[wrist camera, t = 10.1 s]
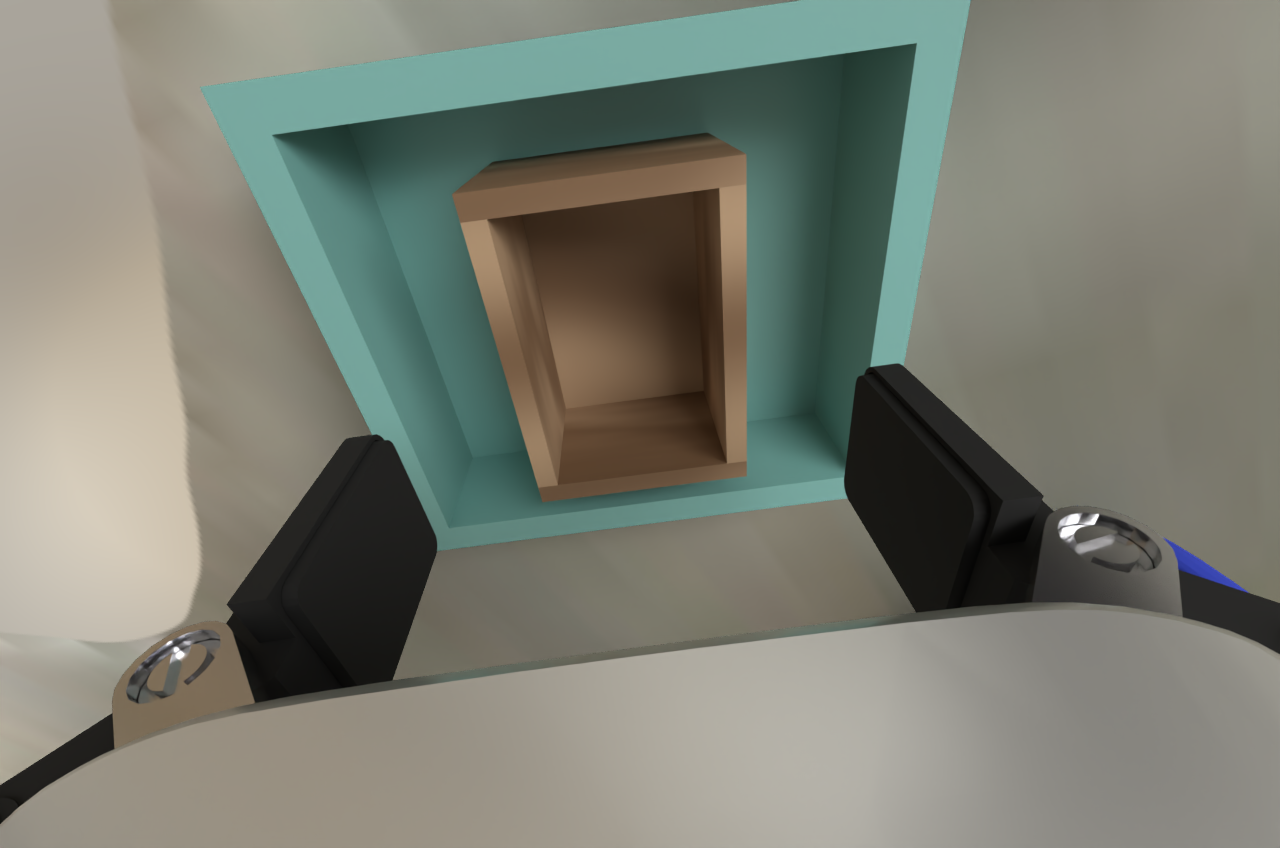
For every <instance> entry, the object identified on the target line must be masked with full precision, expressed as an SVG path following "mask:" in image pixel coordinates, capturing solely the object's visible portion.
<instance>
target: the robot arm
mask: <svg viewBox="0 0 1280 848" xmlns="http://www.w3.org/2000/svg"><path fill="white" fill-rule="evenodd" d="M844 488H845V493H846V496H847V498H848V500H849V501H850V503H851V505H852V506H853V508H854V510H855V511H856V513H857V515H858V516H859V518H860V520H861V521H862V523H863V525H864V526H865V528H866V530H867V531H868V533H869V535H870V536H871V538H872V539H873V541H874V543H875V544H876V546H877V548H878V549H879V551H880V553H881V554H882V556H883V558H884V559H885V561H886V563H887V564H888V566H889V568H890V569H891V571H892V573H893V574H894V576H895V578H896V579H897V581H898V583H899V584H900V586H901V588H902V589H903V591H904V593H905V594H906V596H907V598H908V599H909V601H910V603H911V604H912V606H913V608H914V609H915V611H916V613H909V614H900V615H891V616H882V617H873V618H865V619H857V620H849V621H841V622H833V623H825V624H817V625H809V626H801V627H793V628H785V629H778V630H770V631H762V632H754V633H746V634H738V635H730V636H722V637H714V638H707V639H699V640H691V641H684V642H676V643H668V644H661V645H653V646H645V647H638V648H630V649H622V650H615V651H607V652H600V653H592V654H585V655H577V656H570V657H562V658H555V659H547V660H539V661H532V662H525V663H518V664H510V665H503V666H496V667H488V668H481V669H474V670H466V671H459V672H452V673H445V674H437V675H430V676H423V677H415V678H408V679H401V680H393V677H394V674H395V671H396V668H397V665H398V663H399V660H400V657H401V654H402V651H403V648H404V645H405V642H406V640H407V637H408V634H409V631H410V628H411V625H412V622H413V619H414V617H415V614H416V611H417V608H418V605H419V602H420V599H421V596H422V594H423V591H424V588H425V585H426V582H427V579H428V576H429V573H430V571H431V568H432V565H433V562H434V559H435V556H436V553H437V538H436V535H435V532H434V530H433V528H432V526H431V524H430V522H429V519H428V517H427V515H426V513H425V511H424V509H423V507H422V504H421V502H420V500H419V498H418V496H417V494H416V491H415V489H414V487H413V485H412V483H411V481H410V478H409V476H408V474H407V472H406V470H405V468H404V465H403V463H402V461H401V459H400V457H399V455H398V452H397V450H396V448H395V446H394V444H393V443H392V442H391V441H390V440H384V439H383V438H382V437H381V436H380V435H377V434H375V435H367V436H360V437H353V438H347V439H346V440H345V441H344V442H343V443H342V444H341V446H340V447H339V449H338V450H337V451H336V453H335V454H334V456H333V457H332V458H331V460H330V461H329V463H328V464H327V465H326V467H325V468H324V470H323V471H322V472H321V474H320V475H319V477H318V478H317V479H316V481H315V482H314V484H313V485H312V486H311V488H310V489H309V490H308V492H307V493H306V495H305V496H304V497H303V499H302V500H301V502H300V503H299V504H298V506H297V507H296V509H295V510H294V511H293V513H292V514H291V516H290V517H289V518H288V520H287V521H286V523H285V524H284V525H283V527H282V528H281V530H280V531H279V532H278V534H277V535H276V536H275V538H274V539H273V541H272V542H271V543H270V545H269V546H268V548H267V549H266V550H265V552H264V553H263V555H262V556H261V557H260V559H259V560H258V562H257V563H256V564H255V566H254V567H253V569H252V570H251V571H250V573H249V574H248V576H247V577H246V578H245V580H244V581H243V582H242V584H241V585H240V587H239V588H238V589H237V591H236V592H235V594H234V595H233V596H232V598H231V599H230V601H229V602H228V603H227V605H228V607H229V608H230V609H231V610H232V611H233V614H232V616H231V617H230V619H229V620H228V622H227V623H226V624H225V623H222V622H219V621H206V622H200V623H197V624H194V625H190V626H187V627H185V628H183V629H181V630H178V631H176V632H174V633H172V634H170V635H168V636H167V637H165V638H164V639H162V640H161V641H159V642H158V643H156V644H154V645H153V646H151V647H150V648H149V649H148V650H147V651H146V652H144V653H143V654H142V655H141V656H140V657H138V658H137V659H136V660H135V661H134V662H133V663H132V665H131V666H130V667H129V668H128V669H127V670H126V671H125V673H124V674H123V675H122V677H121V678H120V680H119V682H118V684H117V685H116V687H115V689H114V694H113V698H112V712H113V713H112V714H110V715H109V716H107V717H106V718H104V719H103V720H101V721H99V722H98V723H96V724H95V725H93V726H92V727H90V728H89V729H87V730H85V731H84V732H82V733H81V734H79V735H78V736H76V737H75V738H73V739H71V740H70V741H68V742H67V743H65V744H64V745H62V746H61V747H59V748H57V749H56V750H54V751H53V752H51V753H50V754H48V755H47V756H45V757H44V758H42V759H40V760H39V761H37V762H36V763H34V764H33V765H31V766H30V767H28V768H26V769H25V770H23V771H22V772H20V773H19V774H17V775H16V776H14V777H12V778H11V779H9V780H8V781H6V782H5V783H3V784H2V785H0V848H1280V603H1277V602H1274V601H1271V600H1268V599H1265V598H1262V597H1259V596H1256V595H1253V594H1250V593H1247V592H1244V591H1241V590H1238V589H1235V588H1232V587H1229V586H1226V585H1223V584H1220V583H1217V582H1214V581H1211V580H1208V579H1205V578H1202V577H1199V576H1196V575H1193V574H1190V573H1187V572H1184V571H1181V570H1178V561H1177V558H1176V555H1175V553H1174V550H1173V548H1172V547H1171V546H1170V545H1169V544H1168V543H1167V542H1166V540H1165V539H1164V538H1163V537H1162V536H1161V535H1159V534H1158V533H1156V532H1155V531H1154V530H1152V529H1151V528H1149V527H1148V526H1147V525H1145V524H1143V523H1141V522H1139V521H1137V520H1135V519H1133V518H1131V517H1129V516H1126V515H1123V514H1120V513H1117V512H1114V511H1111V510H1107V509H1101V508H1096V507H1091V506H1070V507H1065V508H1060V509H1058V510H1056V511H1053V510H1052V509H1051V508H1050V507H1048V506H1047V505H1046V504H1045V503H1044V502H1043V501H1042V498H1043V495H1042V494H1041V493H1040V492H1039V491H1038V490H1037V489H1036V488H1035V487H1034V486H1033V485H1031V484H1030V483H1029V482H1028V481H1027V480H1026V479H1025V478H1024V477H1023V476H1022V475H1021V474H1020V473H1018V472H1017V471H1016V470H1015V469H1014V468H1013V467H1012V466H1011V465H1010V464H1009V463H1008V462H1007V461H1005V460H1004V459H1003V458H1002V457H1001V456H1000V455H999V454H998V453H997V452H996V451H995V450H994V449H992V448H991V447H990V446H989V445H988V444H987V443H986V442H985V441H984V440H983V439H982V438H981V437H979V436H978V435H977V434H976V433H975V432H974V431H973V430H972V429H971V428H970V427H969V426H968V425H967V424H965V423H964V422H963V421H962V420H961V419H960V418H959V417H958V416H957V415H956V414H955V413H954V412H952V411H951V410H950V409H949V408H948V407H947V406H946V405H945V404H944V403H943V402H942V401H941V400H939V399H938V398H937V397H936V396H935V395H934V394H933V393H932V392H931V391H930V390H929V389H928V388H926V387H925V386H924V385H923V384H922V383H921V382H920V381H919V380H918V379H917V378H916V377H915V376H913V375H912V374H911V373H910V372H909V371H908V370H907V369H906V368H905V367H904V366H903V365H901V364H899V363H895V364H888V365H881V366H873V367H869V368H867V369H866V371H865V373H864V375H861V376H859V377H858V378H857V380H856V384H855V392H854V401H853V409H852V417H851V425H850V434H849V442H848V450H847V458H846V467H845V475H844ZM392 680H393V681H392Z"/></svg>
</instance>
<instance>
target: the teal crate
mask: <svg viewBox="0 0 1280 848" xmlns="http://www.w3.org/2000/svg"><path fill="white" fill-rule="evenodd" d="M970 2H971V0H800V1H793V2H786V3H779V4H772V5H765V6H758V7H752V8H745V9H738V10H731V11H724V12H717V13H710V14H703V15H696V16H689V17H682V18H675V19H668V20H661V21H654V22H647V23H641V24H634V25H627V26H620V27H613V28H606V29H599V30H592V31H585V32H578V33H571V34H564V35H557V36H550V37H543V38H536V39H530V40H523V41H516V42H509V43H502V44H495V45H488V46H481V47H474V48H467V49H460V50H453V51H446V52H439V53H432V54H425V55H419V56H412V57H405V58H398V59H391V60H384V61H377V62H370V63H363V64H356V65H349V66H342V67H335V68H328V69H321V70H315V71H308V72H301V73H294V74H287V75H280V76H273V77H266V78H259V79H252V80H245V81H238V82H231V83H224V84H217V85H210V86H204V87H200V88H201V90H202V92H203V95H204V97H205V99H206V101H207V103H208V105H209V107H210V109H211V111H212V113H213V115H214V117H215V119H216V121H217V123H218V125H219V127H220V129H221V131H222V133H223V135H224V137H225V139H226V141H227V143H228V145H229V147H230V149H231V151H232V153H233V155H234V157H235V159H236V161H237V163H238V165H239V167H240V169H241V171H242V173H243V175H244V177H245V179H246V181H247V183H248V185H249V187H250V189H251V191H252V193H253V195H254V197H255V199H256V201H257V203H258V205H259V207H260V209H261V211H262V214H263V216H264V218H265V220H266V222H267V224H268V226H269V228H270V230H271V232H272V234H273V236H274V238H275V240H276V242H277V244H278V246H279V248H280V250H281V252H282V254H283V256H284V258H285V260H286V262H287V264H288V266H289V268H290V270H291V272H292V274H293V276H294V278H295V280H296V282H297V284H298V286H299V288H300V290H301V292H302V294H303V296H304V298H305V300H306V302H307V304H308V306H309V308H310V310H311V312H312V314H313V316H314V318H315V320H316V322H317V324H318V326H319V328H320V331H321V333H322V335H323V337H324V339H325V341H326V343H327V345H328V347H329V349H330V351H331V353H332V355H333V357H334V359H335V361H336V363H337V365H338V367H339V369H340V371H341V373H342V375H343V377H344V379H345V381H346V383H347V385H348V387H349V389H350V391H351V393H352V395H353V397H354V399H355V401H356V403H357V405H358V407H359V409H360V411H361V413H362V415H363V417H364V419H365V421H366V423H367V425H368V427H369V429H370V431H371V433H372V435H375V434H377V435H380V436H381V437H382V438H383V439H384V440H390V441H391V442H392V443H393V444H394V446H395V448H396V450H397V452H398V455H399V457H400V459H401V461H402V463H403V465H404V468H405V470H406V472H407V474H408V476H409V478H410V481H411V483H412V485H413V487H414V489H415V491H416V494H417V496H418V498H419V500H420V502H421V504H422V507H423V509H424V511H425V513H426V515H427V517H428V519H429V522H430V524H431V526H432V528H433V530H434V532H435V535H436V538H437V551H441V550H449V549H457V548H465V547H472V546H480V545H488V544H496V543H503V542H511V541H519V540H527V539H535V538H542V537H550V536H558V535H566V534H573V533H581V532H589V531H597V530H604V529H612V528H620V527H628V526H635V525H643V524H651V523H659V522H667V521H674V520H682V519H690V518H698V517H705V516H713V515H721V514H729V513H736V512H744V511H752V510H760V509H767V508H775V507H783V506H791V505H798V504H806V503H814V502H822V501H830V500H837V499H845V498H847V496H846V493H845V488H844V475H845V467H846V458H847V450H848V442H849V434H850V425H851V417H852V409H853V401H854V392H855V384H856V380H857V378H858V377H859V376H861V375H864V373H865V371H866V369H867V368H869V367H873V366H881V365H888V364H895V363H899V364H901V365H903V366H904V361H905V355H906V350H907V344H908V339H909V333H910V328H911V322H912V317H913V312H914V306H915V301H916V295H917V290H918V284H919V279H920V273H921V268H922V263H923V257H924V252H925V246H926V241H927V235H928V230H929V225H930V219H931V214H932V208H933V203H934V197H935V192H936V186H937V181H938V176H939V170H940V165H941V159H942V154H943V148H944V143H945V138H946V132H947V127H948V121H949V116H950V110H951V105H952V99H953V94H954V89H955V83H956V78H957V72H958V67H959V61H960V56H961V51H962V45H963V40H964V34H965V29H966V23H967V18H968V12H969V7H970ZM707 132H708V133H710V134H711V135H713V136H715V137H717V138H718V139H720V140H722V141H724V142H726V143H727V144H729V145H731V146H733V147H735V148H736V149H738V150H740V151H742V152H744V153H745V154H746V191H747V476H745V477H737V478H729V479H721V480H713V481H705V482H698V483H690V484H682V485H674V486H666V487H658V488H650V489H643V490H635V491H627V492H619V493H611V494H603V495H596V496H588V497H580V498H572V499H564V500H556V501H548V502H542V499H541V495H540V492H539V489H538V485H537V482H536V478H535V475H534V472H533V468H532V465H531V461H530V458H529V455H528V451H527V448H526V445H525V441H524V438H523V434H522V431H521V428H520V424H519V421H518V417H517V414H516V411H515V407H514V404H513V400H512V397H511V394H510V390H509V387H508V383H507V380H506V377H505V373H504V370H503V366H502V363H501V360H500V356H499V353H498V349H497V346H496V343H495V339H494V336H493V332H492V329H491V326H490V322H489V319H488V316H487V312H486V309H485V305H484V302H483V299H482V295H481V292H480V288H479V285H478V282H477V278H476V275H475V271H474V268H473V265H472V261H471V258H470V254H469V251H468V248H467V244H466V241H465V237H464V234H463V231H462V227H461V224H460V220H459V217H458V214H457V210H456V207H455V203H454V200H453V197H452V194H453V193H454V192H455V191H456V190H458V189H459V188H460V187H461V186H463V185H464V184H465V183H466V182H468V181H469V180H470V179H471V178H473V177H474V176H475V175H476V174H478V173H479V172H480V171H481V170H483V169H484V168H485V167H486V166H488V165H489V164H490V163H491V162H495V161H502V160H510V159H517V158H524V157H531V156H539V155H546V154H553V153H561V152H568V151H575V150H583V149H590V148H597V147H605V146H612V145H619V144H626V143H634V142H641V141H648V140H656V139H663V138H670V137H678V136H685V135H692V134H700V133H707Z"/></svg>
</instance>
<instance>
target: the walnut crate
mask: <svg viewBox="0 0 1280 848" xmlns="http://www.w3.org/2000/svg"><path fill="white" fill-rule="evenodd" d="M452 197H453V200H454V203H455V207H456V210H457V214H458V217H459V220H460V224H461V227H462V231H463V234H464V237H465V241H466V244H467V248H468V251H469V254H470V258H471V261H472V265H473V268H474V271H475V275H476V278H477V282H478V285H479V288H480V292H481V295H482V299H483V302H484V305H485V309H486V312H487V316H488V319H489V322H490V326H491V329H492V332H493V336H494V339H495V343H496V346H497V349H498V353H499V356H500V360H501V363H502V366H503V370H504V373H505V377H506V380H507V383H508V387H509V390H510V394H511V397H512V400H513V404H514V407H515V411H516V414H517V417H518V421H519V424H520V428H521V431H522V434H523V438H524V441H525V445H526V448H527V451H528V455H529V458H530V461H531V465H532V468H533V472H534V475H535V478H536V482H537V485H538V489H539V492H540V495H541V499H542V502H548V501H556V500H564V499H572V498H580V497H588V496H596V495H603V494H611V493H619V492H627V491H635V490H643V489H650V488H658V487H666V486H674V485H682V484H690V483H698V482H705V481H713V480H721V479H729V478H737V477H745V476H747V191H746V154H745V153H744V152H742V151H740V150H738V149H736V148H735V147H733V146H731V145H729V144H727V143H726V142H724V141H722V140H720V139H718V138H717V137H715V136H713V135H711V134H710V133H708V132H707V133H700V134H692V135H685V136H678V137H670V138H663V139H656V140H648V141H641V142H634V143H626V144H619V145H612V146H605V147H597V148H590V149H583V150H575V151H568V152H561V153H553V154H546V155H539V156H531V157H524V158H517V159H510V160H502V161H495V162H491V163H490V164H489V165H488V166H486V167H485V168H484V169H483V170H481V171H480V172H479V173H478V174H476V175H475V176H474V177H473V178H471V179H470V180H469V181H468V182H466V183H465V184H464V185H463V186H461V187H460V188H459V189H458V190H456V191H455V192H454V193H453V194H452Z"/></svg>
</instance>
